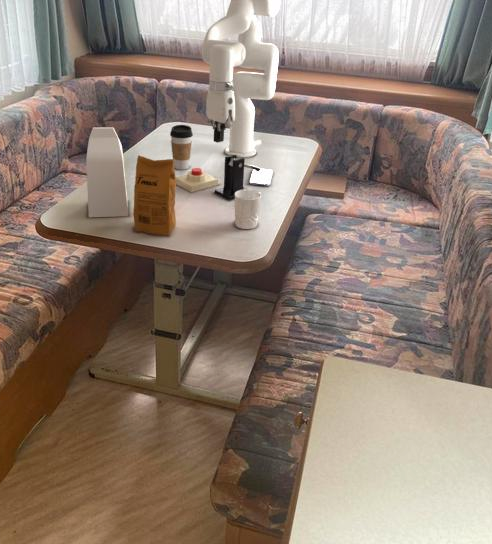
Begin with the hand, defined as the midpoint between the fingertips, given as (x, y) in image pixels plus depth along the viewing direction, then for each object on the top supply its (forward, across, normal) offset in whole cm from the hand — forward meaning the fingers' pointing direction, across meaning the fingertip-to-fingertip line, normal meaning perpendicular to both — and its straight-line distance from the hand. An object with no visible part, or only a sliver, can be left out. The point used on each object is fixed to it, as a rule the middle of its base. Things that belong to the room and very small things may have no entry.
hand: (218, 141), depth 195 cm
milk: (+16, +5, +41) cm, 44 cm away
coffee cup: (+16, +22, -2) cm, 27 cm away
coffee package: (+16, -15, +38) cm, 44 cm away
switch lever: (+8, -9, -3) cm, 12 cm away
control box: (+16, +5, +5) cm, 18 cm away
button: (+12, +5, +5) cm, 14 cm away
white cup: (+16, -29, +14) cm, 36 cm away
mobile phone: (+16, -4, -18) cm, 24 cm away
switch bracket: (+16, -9, 0) cm, 18 cm away
